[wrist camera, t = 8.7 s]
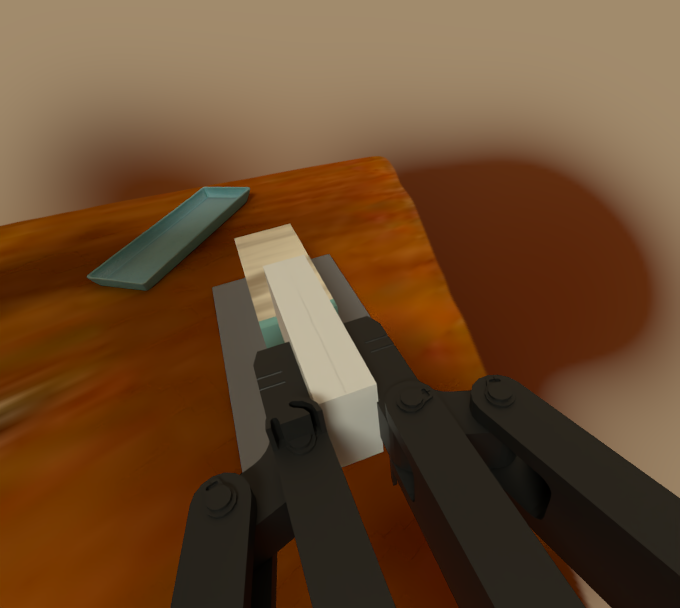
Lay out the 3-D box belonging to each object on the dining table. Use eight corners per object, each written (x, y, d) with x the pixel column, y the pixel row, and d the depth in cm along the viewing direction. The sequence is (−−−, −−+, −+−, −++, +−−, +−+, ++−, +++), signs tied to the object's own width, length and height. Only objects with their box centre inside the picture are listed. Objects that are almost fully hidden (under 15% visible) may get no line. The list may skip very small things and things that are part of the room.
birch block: (337, 305, 33) (290, 223, 46) (260, 329, 32) (234, 238, 45) (346, 361, 37) (300, 271, 49) (278, 384, 36) (249, 286, 48)
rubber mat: (435, 419, 31) (435, 415, 31) (246, 490, 29) (244, 487, 29) (329, 256, 52) (329, 254, 51) (213, 290, 49) (212, 287, 49)
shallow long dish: (150, 298, 51) (141, 280, 49) (92, 291, 54) (82, 274, 52) (255, 201, 70) (251, 186, 68) (208, 200, 73) (203, 186, 71)
